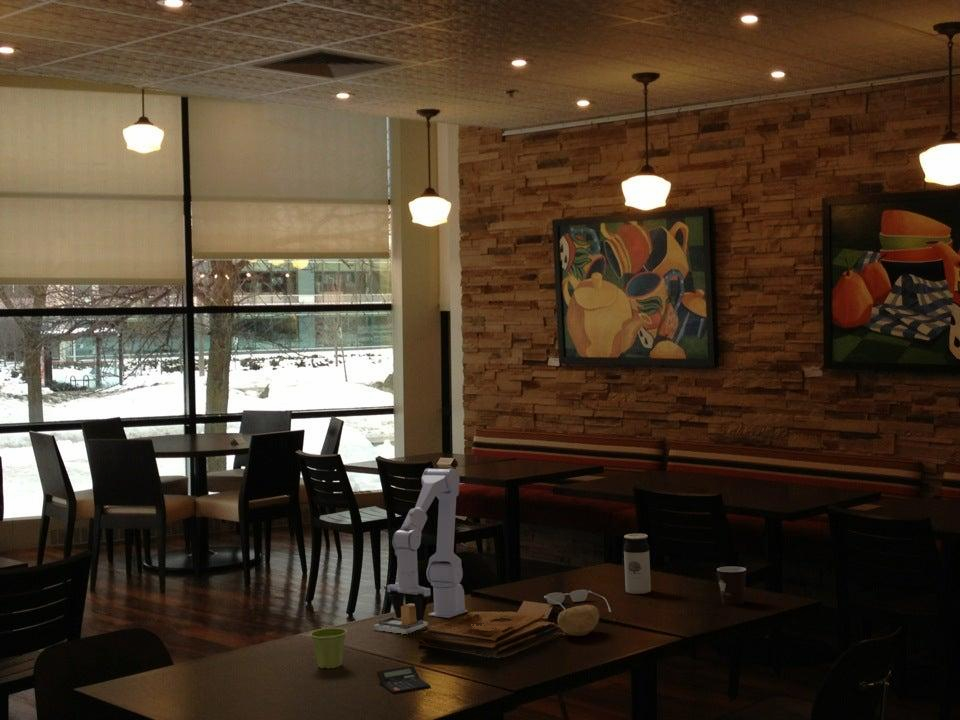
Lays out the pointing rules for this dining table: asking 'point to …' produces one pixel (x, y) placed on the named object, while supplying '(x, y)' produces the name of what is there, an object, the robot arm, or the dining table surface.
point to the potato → (578, 620)
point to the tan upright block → (408, 614)
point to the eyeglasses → (575, 596)
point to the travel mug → (637, 564)
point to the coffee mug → (731, 584)
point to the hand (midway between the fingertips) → (409, 618)
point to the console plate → (398, 626)
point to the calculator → (401, 680)
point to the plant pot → (329, 646)
